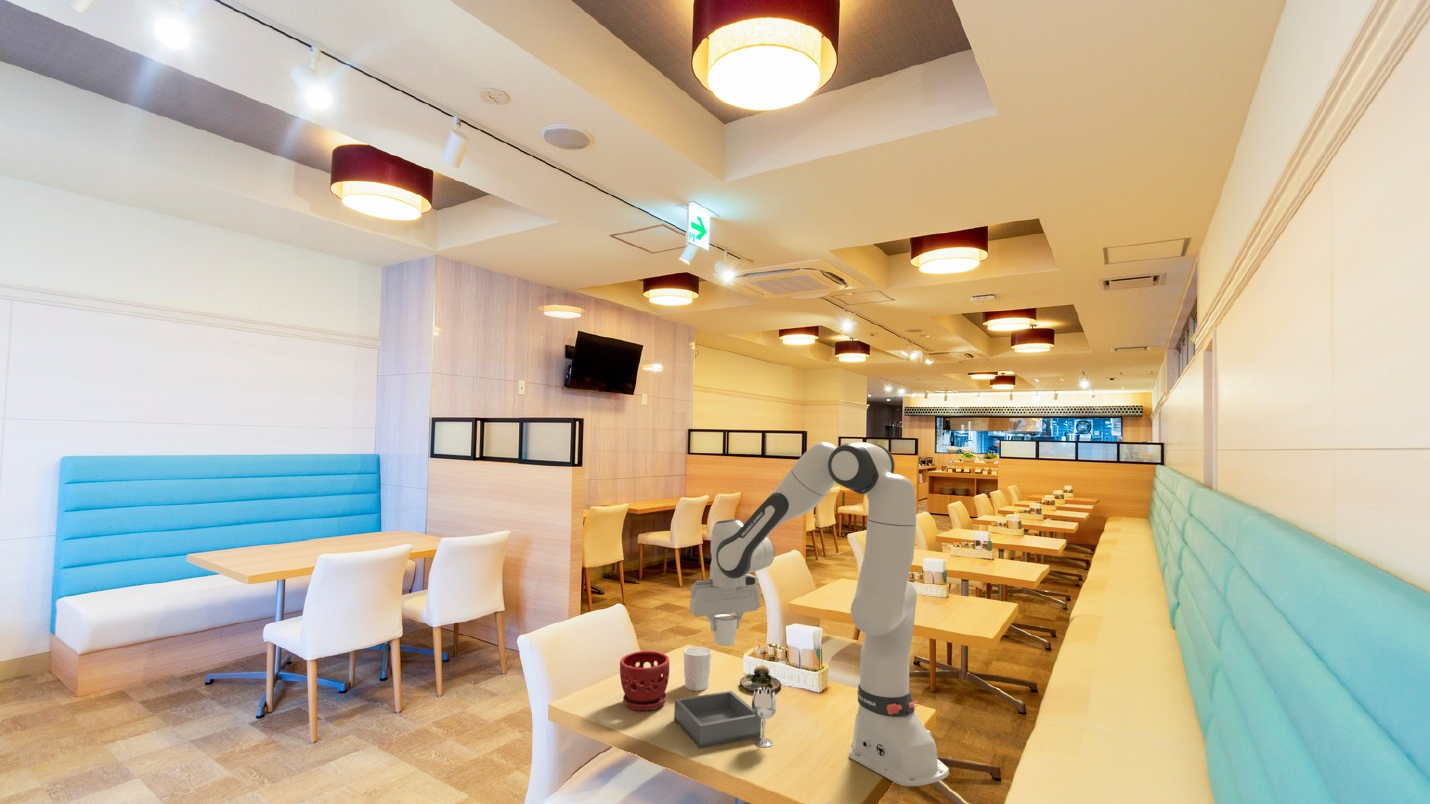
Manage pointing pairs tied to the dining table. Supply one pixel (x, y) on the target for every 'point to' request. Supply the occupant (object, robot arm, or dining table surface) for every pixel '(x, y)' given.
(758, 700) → the wineglass
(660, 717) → the dining table surface
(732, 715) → the bin
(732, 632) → the small tapered cup
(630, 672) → the plant pot
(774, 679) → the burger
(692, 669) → the white cup
